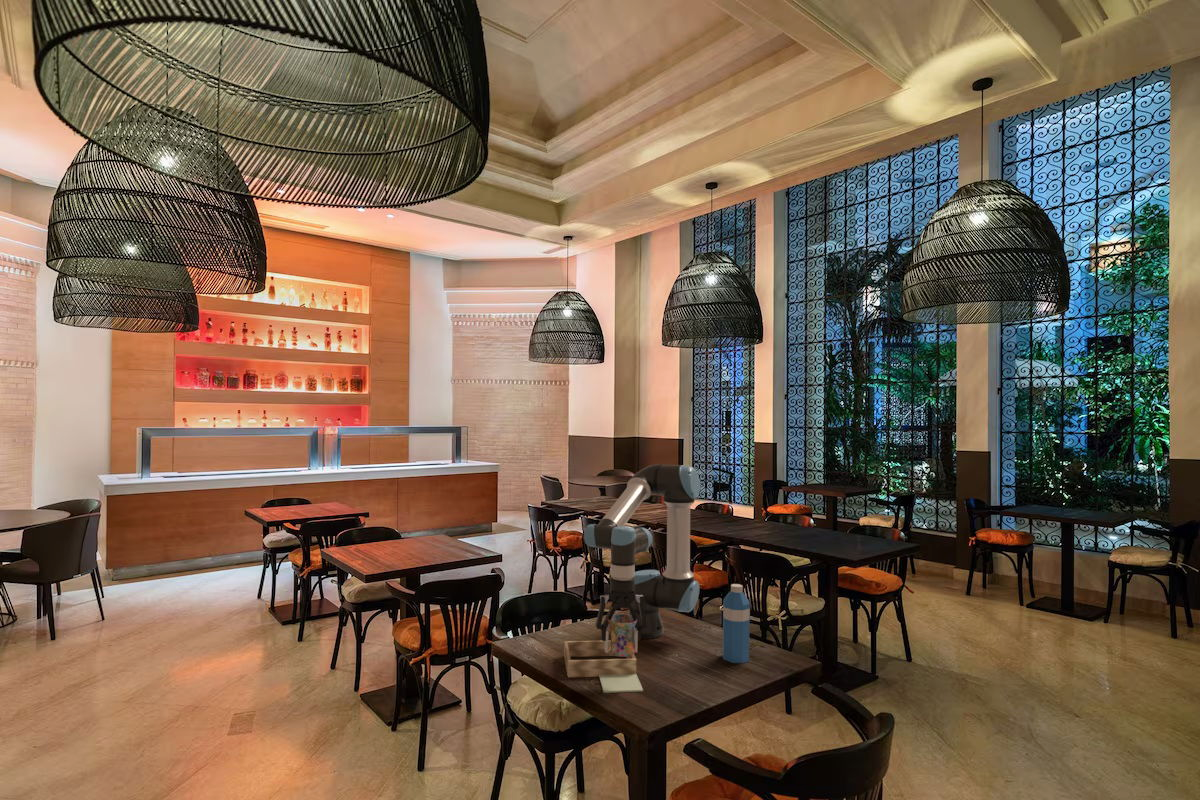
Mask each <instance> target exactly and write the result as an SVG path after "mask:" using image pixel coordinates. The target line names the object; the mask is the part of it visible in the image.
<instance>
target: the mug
mask: <svg viewBox="0 0 1200 800" xmlns="http://www.w3.org/2000/svg"><path fill="white" fill-rule="evenodd" d="M607 620H608V623H609V625H608V626H609V629H610V640H611V642H610V646H609V648H608V652H609V653H610V654H612V655H615V656H614V657H620V658H621V657H623V658H624V657H625V658H626V656H630V655H633V654H634V655H635V653H636V652H635V648H634V637H633V632H634V628H635V625H636V623H637V618H636V620H635V622H634V620H633V618H632V616H631V615H628V614H622V613H621V614H619V613H618V614H617V613H616V614H613V616H612V619H611V621H610V620H609V619H607Z"/></svg>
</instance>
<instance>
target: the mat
mask: <svg viewBox="0 0 1200 800" xmlns="http://www.w3.org/2000/svg"><path fill="white" fill-rule="evenodd" d="M599 681H600V684H601V688H602V692H603V694H610V693H635V692H636V693H639V692H644V689H643V686H642V684H641V681H640V679H639V677H638V675H637V673H636V674H613V675H599Z"/></svg>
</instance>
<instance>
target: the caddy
mask: <svg viewBox="0 0 1200 800" xmlns="http://www.w3.org/2000/svg"><path fill="white" fill-rule="evenodd" d="M610 642H611V639H608V648H609V646H610ZM563 644H564V645H563V658H564V659H563V660H564V664H565V669H566V675H567V676H568V677H567V678H591V677H592V678H593V677H599V675H613V674H637V657H636V656H635V653H634V654H633V655H630V656H626V657H625V658H609V659H608V658H607V659H606V658H602V659H572V658H574V657H575V658H579V657H580V658H581V657H584V658H585V657H609V656H610V657H613V656H614V657H616V656H615V655H612V654H610V653H609V652H608V653H606V652H605V641H602V639H600V640H567V641H566V640H564V643H563Z"/></svg>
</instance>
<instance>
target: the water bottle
mask: <svg viewBox="0 0 1200 800" xmlns="http://www.w3.org/2000/svg"><path fill="white" fill-rule="evenodd" d="M743 588H744V586H743V585H742V584H739V583H732V584H730V591H729V592H728V593H727V594H726V595H725V597H724V598H723V602H722V603H723V604H722V606H723V607H722V609H723V611H722V659H723V660H724V661H726V662H729V663H732V664H744V663H746V662H747V663H748V662H749V661H750V627H751V625H750V624H751V623H750V622H751V620H750V619H751V617H750V616H751V612H750V611H751V604H750V601H749V599H748V598H747V596H746V594H745V593H744V592H743V591H744V589H743Z"/></svg>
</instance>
